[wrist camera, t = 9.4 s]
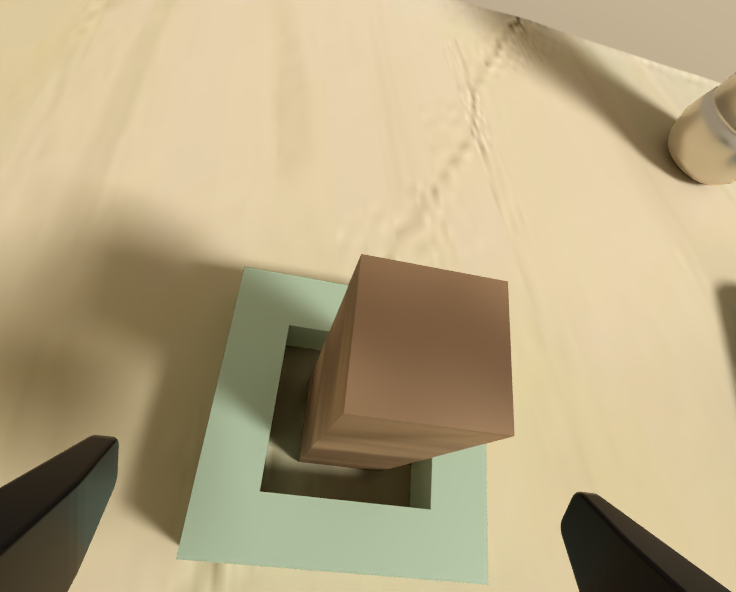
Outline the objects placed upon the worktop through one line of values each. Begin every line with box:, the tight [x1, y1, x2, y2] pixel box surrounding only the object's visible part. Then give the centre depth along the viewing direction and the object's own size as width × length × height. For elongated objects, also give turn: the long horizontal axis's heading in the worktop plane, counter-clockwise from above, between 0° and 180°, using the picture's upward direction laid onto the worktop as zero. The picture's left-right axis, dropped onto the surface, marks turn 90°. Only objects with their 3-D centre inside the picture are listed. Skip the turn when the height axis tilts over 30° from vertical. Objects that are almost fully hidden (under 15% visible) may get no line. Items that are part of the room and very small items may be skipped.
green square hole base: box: [176, 267, 488, 585], centre depth 21 cm, size 12×12×3 cm
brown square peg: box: [298, 254, 514, 471], centre depth 17 cm, size 4×4×13 cm
